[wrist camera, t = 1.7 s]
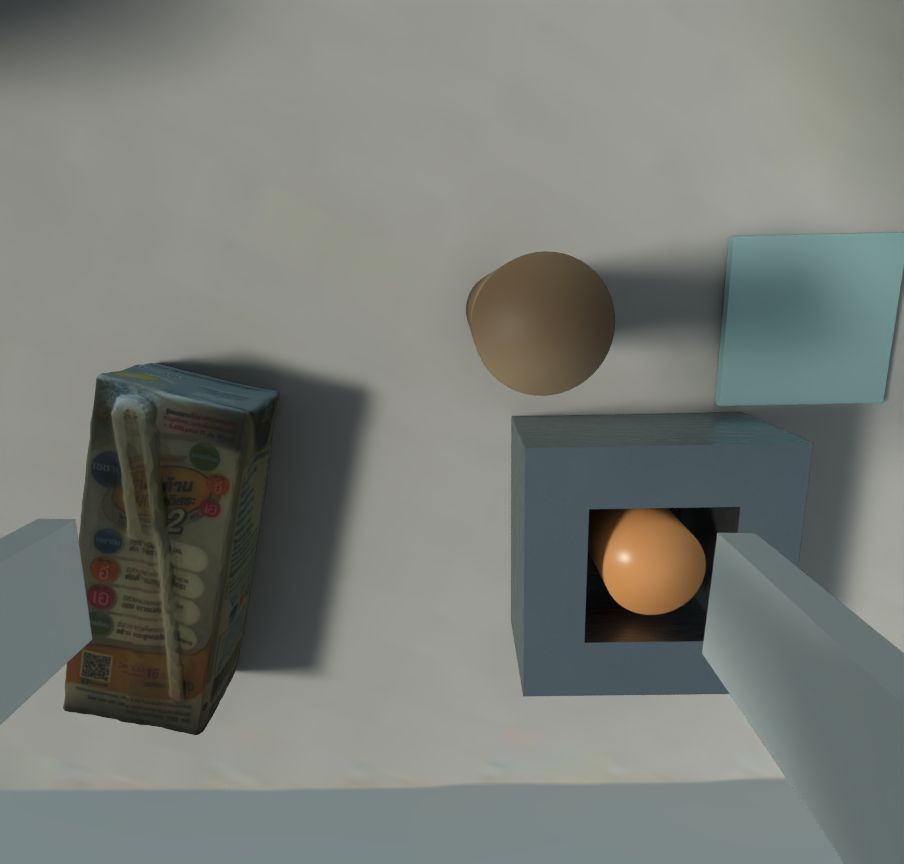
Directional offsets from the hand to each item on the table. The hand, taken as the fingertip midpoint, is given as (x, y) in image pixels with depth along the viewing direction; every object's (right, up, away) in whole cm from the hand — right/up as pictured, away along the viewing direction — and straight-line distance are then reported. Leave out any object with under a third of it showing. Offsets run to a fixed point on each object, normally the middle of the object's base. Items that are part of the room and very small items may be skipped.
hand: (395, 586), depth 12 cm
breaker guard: (+11, -2, +23) cm, 26 cm away
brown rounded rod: (+4, +10, +20) cm, 23 cm away
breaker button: (+11, -2, +22) cm, 24 cm away
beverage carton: (-14, -2, +24) cm, 28 cm away
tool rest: (+20, +9, +20) cm, 30 cm away
